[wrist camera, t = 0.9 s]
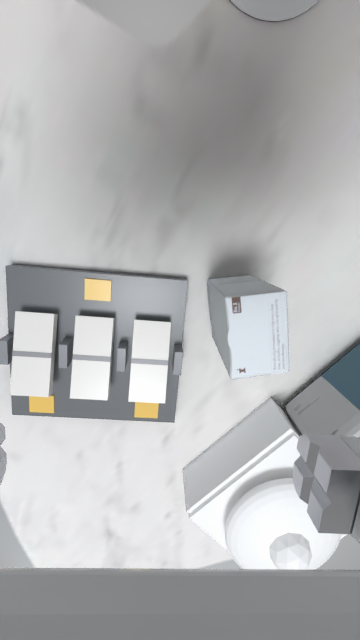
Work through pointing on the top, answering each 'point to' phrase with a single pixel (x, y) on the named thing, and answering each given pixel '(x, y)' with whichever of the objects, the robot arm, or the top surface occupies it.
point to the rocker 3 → (149, 361)
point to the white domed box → (256, 495)
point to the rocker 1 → (33, 354)
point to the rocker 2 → (92, 358)
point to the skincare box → (249, 325)
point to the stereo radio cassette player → (331, 400)
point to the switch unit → (125, 306)
